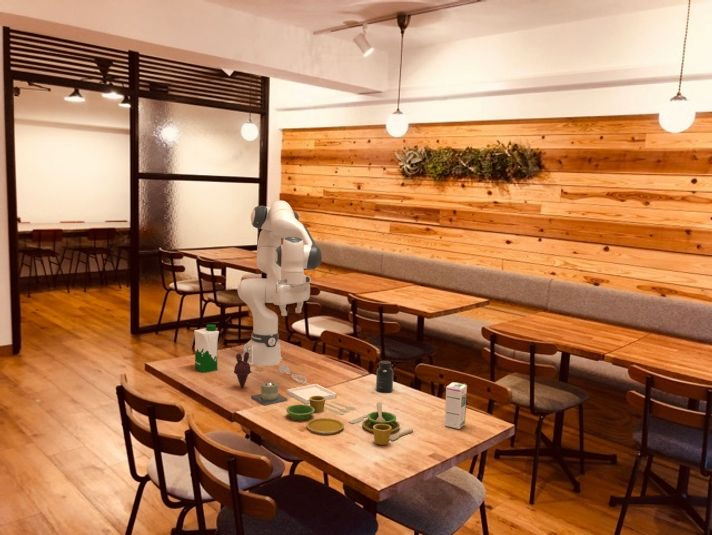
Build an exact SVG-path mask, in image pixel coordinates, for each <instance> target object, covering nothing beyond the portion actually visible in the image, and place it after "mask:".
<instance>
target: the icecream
mask: <svg viewBox="0 0 712 535" xmlns="http://www.w3.org/2000/svg"><path fill="white" fill-rule="evenodd" d="M241 354H242V353H239V352H238V353H237V354H236V355H235V359H236V362H237V363H235V364H234V365H235V366H234V368H233V370H234V371H233V373H234V374H235V375H236V377H237V381H238V383H239V387H240V389H244V387H245V385H246V382H247V379H248V376H249V375H250V374H251V373H252V371H251V365H249V363H248V362H247V361H248V359H249V353H248V352H246V353H245V354H244V361H242V356H241Z"/></svg>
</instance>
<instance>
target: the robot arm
mask: <svg viewBox="0 0 712 535" xmlns="http://www.w3.org/2000/svg"><path fill="white" fill-rule="evenodd" d="M250 221H251V225H252V228H253V227H254V228H256V229H257V230H261V231H260V232H259V236H258V241H257V246H256V248H257V249H256V261H255V264H256V267H257V268H258V270H260V271H261V272H263V273H265V274H266V275H268V278H264V277H263V278H258V277H257V278H255V277H251V278H250V277H249V278H245V279H242V280H241V281H240V282H239V283H238V286H237V294H238V297H239V299H240V300H241V301H243V302H244V303H245V304H246V305H247V307H248V308H249V309H250V312H251V314H252V321H253V322H252V323H253V324H252V325H253V328H252V330H253V331H251V332H250V335H251V336H250V337H251V338H250V340H249V341H248V342H246V343H245V344H244V345H243V348H242V353H240V354H241V356H242V361H244V354H245V353H246V352H248V353H249V359H248V361H247V362H248V363H249V365H250V366H258V367H270V366H271V367H272V366H276V365H279V364H280V363H281V361H282V360H283V357H282V356H281V353H282V352H281V343H280V341H279V331H278V330H279V329H278V328H279V317H278V314H277V313H276V312H275V311H273V310H271V309H269V308H268V307H267V306H266V303H267V304H268V303H269V304H274V305H275V306H278V307H279V310H280V312H281V313H280V315H281V316H282V317H287V316H288V311H287V310H286V308H287V305H290V304H295V303H296V304H297V305H296V307H295V308H294V309H295V310H294V311H295V313H296V314H300V313H302V308H303V306H304V302H305V301H309V299H310V297H311V296H310V295H311V284H310V283H311V281H312V277H311V276H308V275H307V274H305V270H306V269H307V270H315V269H317V268H318V267H319V266H320V265H322V259H323V255H322V250H321V248H320V247H319V246H318V245H317V243H316V242H315V240H314V238H313V237H312V235H311V232H310V230H308V228H307V226H306V225H305V224H303V223H302V222H300V218H299V214H298V212H296V211H294V210H293V208H292V206H291V205H290V204H289V203H288V202H287V201H285V200H277V201H274V202H273V203H272V204H271V205H270V206H265V205H257V206H255V207H254V208H253V209H252V212H251V214H250ZM282 239H283V240H282ZM304 269H305V270H304Z"/></svg>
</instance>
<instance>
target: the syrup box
mask: <svg viewBox="0 0 712 535" xmlns="http://www.w3.org/2000/svg"><path fill="white" fill-rule="evenodd" d="M467 390H468V385H467V384H464V383H461V382H451V383H450V384H448V385H447V386H446V389H445V405H444V406H445V410H444V411H445V413H444V426H446V427H449V428H453V429H457V430H460V429H461V428H462V427H463V426H464V425H465V424H466V413H467V412H466V411H467V394H468V393H467Z"/></svg>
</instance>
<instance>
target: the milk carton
mask: <svg viewBox="0 0 712 535" xmlns="http://www.w3.org/2000/svg"><path fill="white" fill-rule="evenodd" d="M216 326H217V325H216V324H212V323H211V324H206V327H205V328H199V329H195V330H194V332H193V333H194V342H195V344H194V370H196V371H198V372H199V373H201V374H205V373H210V372H214V371H215V372H216V371H218V339H219V334H220V331H219V330H217V328H216Z"/></svg>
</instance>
